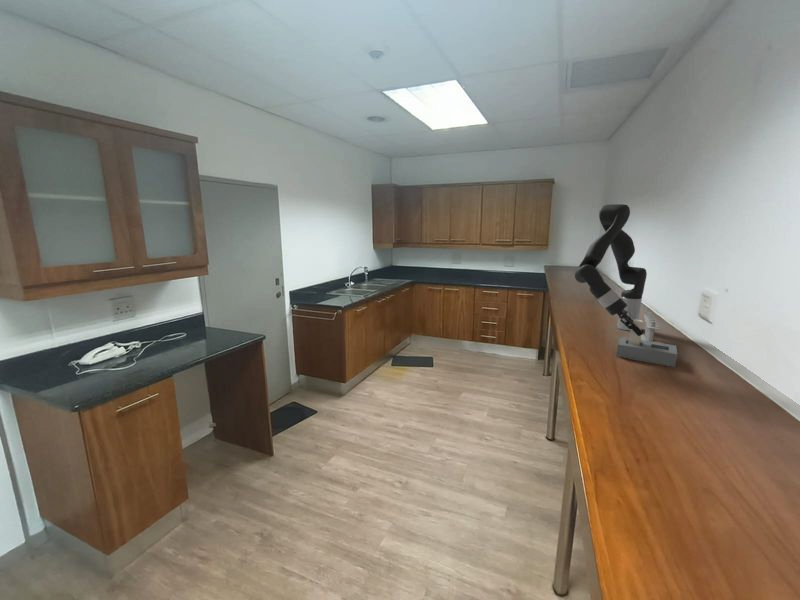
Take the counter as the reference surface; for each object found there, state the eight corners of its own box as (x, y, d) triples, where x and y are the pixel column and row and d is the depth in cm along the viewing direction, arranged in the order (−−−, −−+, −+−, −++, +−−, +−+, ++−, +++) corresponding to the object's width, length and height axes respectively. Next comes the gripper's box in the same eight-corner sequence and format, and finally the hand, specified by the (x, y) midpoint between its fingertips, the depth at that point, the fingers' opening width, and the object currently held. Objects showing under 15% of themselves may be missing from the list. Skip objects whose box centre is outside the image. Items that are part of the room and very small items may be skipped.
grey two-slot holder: (619, 348, 158) (620, 336, 157) (674, 357, 147) (676, 345, 146) (616, 356, 149) (617, 344, 148) (674, 367, 137) (677, 354, 136)
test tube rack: (655, 352, 153) (660, 324, 150) (643, 351, 155) (648, 322, 152) (651, 336, 174) (655, 311, 171) (640, 335, 176) (644, 310, 173)
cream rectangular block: (627, 347, 152) (631, 318, 149) (638, 349, 150) (643, 320, 147) (627, 349, 150) (631, 320, 147) (638, 351, 148) (642, 322, 145)
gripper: (618, 299, 144) (649, 333, 140) (621, 294, 155) (650, 324, 151) (601, 310, 148) (631, 343, 144) (606, 304, 159) (634, 334, 155)
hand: (641, 333), depth 147 cm, fingers closed on cream rectangular block, 3 cm apart
